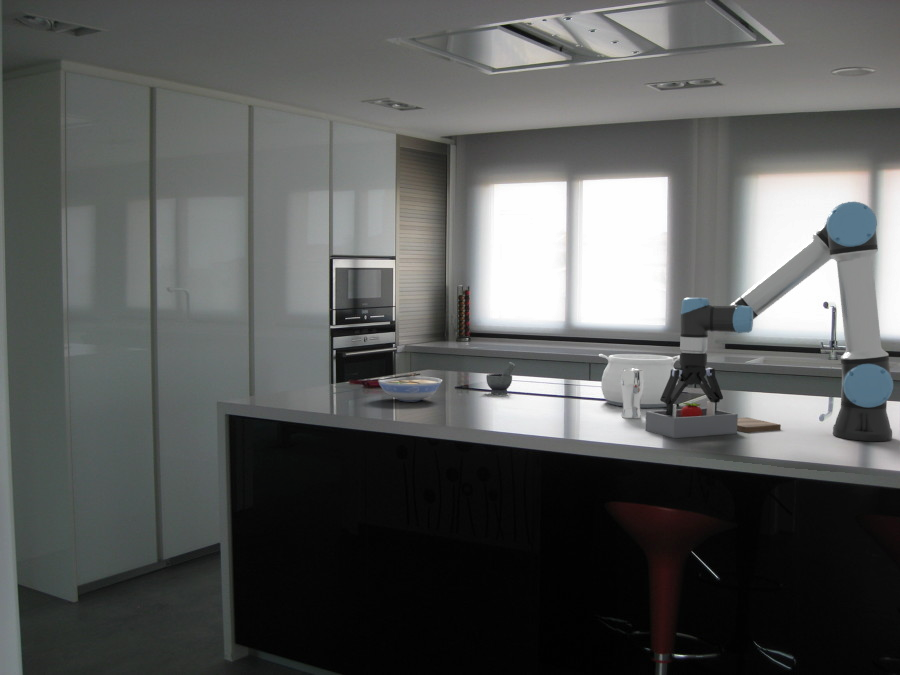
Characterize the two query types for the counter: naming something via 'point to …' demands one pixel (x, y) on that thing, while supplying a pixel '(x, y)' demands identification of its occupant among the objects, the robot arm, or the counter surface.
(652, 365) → the pot
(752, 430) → the display board
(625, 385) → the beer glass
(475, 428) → the counter surface
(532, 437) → the counter surface
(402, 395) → the ramen bowl
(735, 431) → the crate
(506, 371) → the mortar and pestle
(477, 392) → the counter surface
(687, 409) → the strawberry
